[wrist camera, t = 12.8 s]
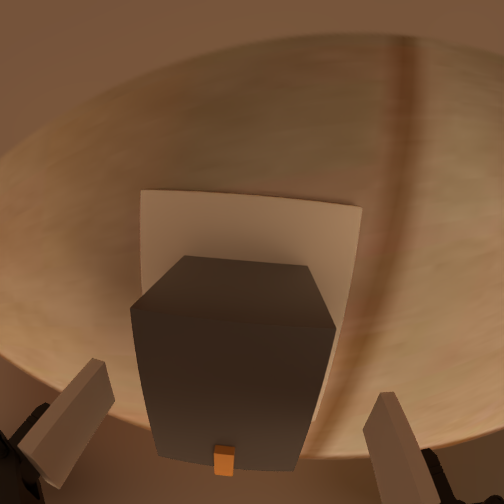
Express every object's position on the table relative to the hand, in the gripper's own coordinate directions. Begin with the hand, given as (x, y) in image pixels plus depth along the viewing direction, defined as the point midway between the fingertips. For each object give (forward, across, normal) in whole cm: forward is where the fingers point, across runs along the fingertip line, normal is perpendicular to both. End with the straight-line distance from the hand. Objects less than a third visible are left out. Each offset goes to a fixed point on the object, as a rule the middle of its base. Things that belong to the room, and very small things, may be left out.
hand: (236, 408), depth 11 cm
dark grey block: (+8, -1, 0) cm, 8 cm away
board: (+9, -1, 0) cm, 9 cm away
